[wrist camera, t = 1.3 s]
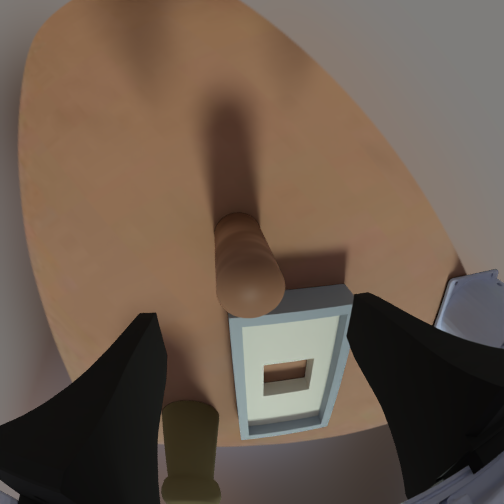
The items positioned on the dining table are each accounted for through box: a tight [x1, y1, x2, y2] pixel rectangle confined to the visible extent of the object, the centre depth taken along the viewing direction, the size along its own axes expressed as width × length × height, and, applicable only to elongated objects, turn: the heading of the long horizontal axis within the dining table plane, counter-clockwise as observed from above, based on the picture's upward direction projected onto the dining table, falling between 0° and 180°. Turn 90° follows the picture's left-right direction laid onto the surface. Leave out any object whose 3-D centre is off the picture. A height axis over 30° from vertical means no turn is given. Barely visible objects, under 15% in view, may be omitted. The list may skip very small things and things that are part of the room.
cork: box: [161, 401, 221, 504], centre depth 21 cm, size 6×6×11 cm
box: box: [228, 284, 354, 440], centre depth 23 cm, size 9×16×3 cm, turn 1°
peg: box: [215, 213, 285, 318], centre depth 16 cm, size 3×3×7 cm
